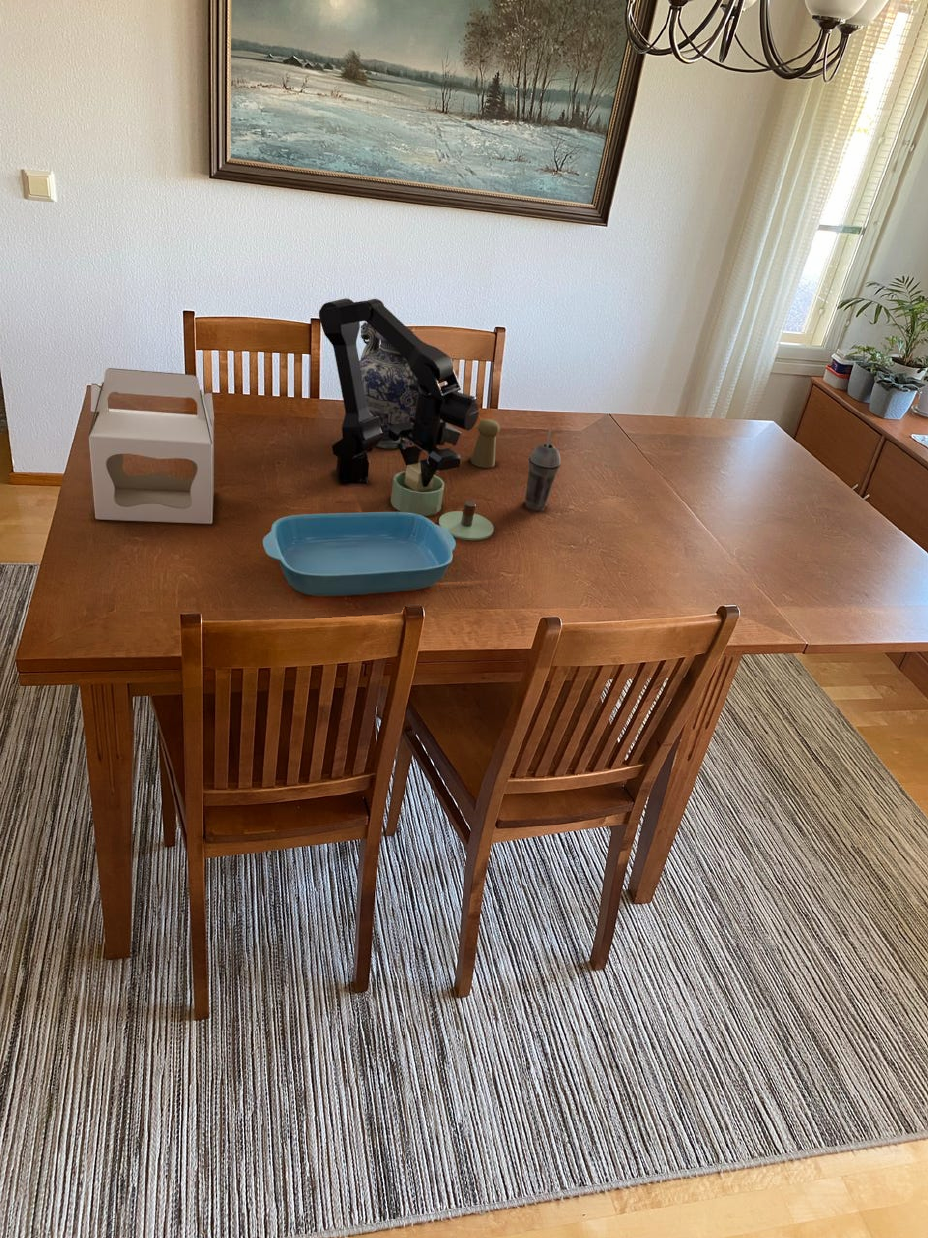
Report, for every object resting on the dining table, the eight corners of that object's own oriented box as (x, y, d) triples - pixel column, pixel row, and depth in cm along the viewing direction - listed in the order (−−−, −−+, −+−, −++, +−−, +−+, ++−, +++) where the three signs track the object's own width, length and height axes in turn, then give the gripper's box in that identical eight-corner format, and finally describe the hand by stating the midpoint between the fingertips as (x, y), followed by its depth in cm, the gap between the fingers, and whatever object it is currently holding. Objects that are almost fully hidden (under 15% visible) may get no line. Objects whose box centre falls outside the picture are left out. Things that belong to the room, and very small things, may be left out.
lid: (448, 544, 186) (452, 517, 183) (431, 516, 195) (434, 490, 192) (500, 542, 191) (506, 516, 187) (481, 515, 200) (486, 490, 196)
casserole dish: (273, 610, 157) (275, 575, 153) (252, 545, 173) (253, 513, 169) (467, 597, 170) (473, 565, 166) (430, 539, 187) (435, 508, 183)
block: (416, 492, 193) (418, 473, 191) (404, 483, 196) (406, 465, 193) (432, 488, 196) (434, 470, 193) (420, 480, 198) (422, 462, 196)
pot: (398, 518, 192) (401, 493, 189) (384, 494, 200) (387, 470, 197) (447, 517, 196) (451, 492, 193) (431, 493, 205) (435, 469, 201)
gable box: (214, 494, 188) (215, 364, 173) (213, 524, 178) (213, 389, 162) (102, 488, 183) (92, 354, 167) (93, 519, 172) (82, 379, 157)
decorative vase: (328, 434, 223) (336, 322, 208) (375, 418, 237) (387, 311, 221) (394, 464, 214) (408, 349, 199) (439, 446, 228) (456, 337, 213)
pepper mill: (485, 469, 220) (492, 428, 214) (465, 460, 223) (473, 419, 217) (499, 463, 225) (507, 422, 218) (480, 455, 227) (487, 414, 221)
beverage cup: (554, 506, 209) (573, 426, 198) (543, 518, 203) (562, 436, 192) (525, 497, 211) (543, 417, 200) (514, 507, 205) (531, 426, 194)
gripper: (485, 426, 186) (473, 494, 194) (431, 394, 197) (422, 459, 205) (444, 433, 179) (433, 503, 188) (390, 399, 190) (382, 466, 199)
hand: (418, 481), depth 195 cm, fingers closed on block, 4 cm apart
